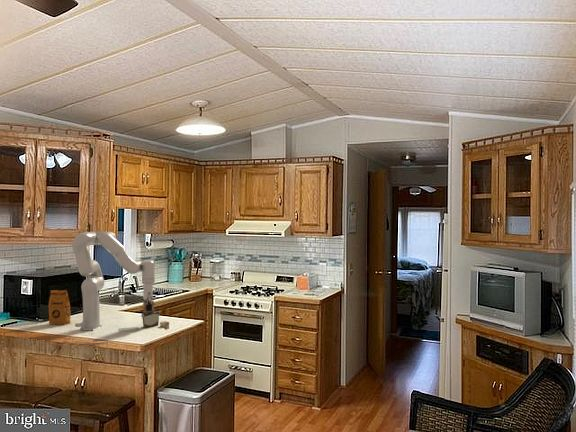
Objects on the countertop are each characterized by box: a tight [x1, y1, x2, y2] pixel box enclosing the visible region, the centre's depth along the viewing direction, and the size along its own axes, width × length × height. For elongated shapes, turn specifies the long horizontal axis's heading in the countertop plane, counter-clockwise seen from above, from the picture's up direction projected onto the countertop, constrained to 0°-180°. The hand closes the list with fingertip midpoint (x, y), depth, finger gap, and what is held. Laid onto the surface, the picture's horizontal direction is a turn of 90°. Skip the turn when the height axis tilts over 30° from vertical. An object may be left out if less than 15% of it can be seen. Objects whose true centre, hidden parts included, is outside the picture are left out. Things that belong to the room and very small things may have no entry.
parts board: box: [117, 326, 141, 333], centre depth 286 cm, size 12×10×1 cm
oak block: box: [159, 320, 170, 330], centre depth 293 cm, size 4×4×4 cm
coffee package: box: [48, 289, 71, 326], centre depth 308 cm, size 10×12×22 cm
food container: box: [141, 310, 161, 329], centre depth 294 cm, size 12×6×10 cm, turn 141°
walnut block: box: [142, 299, 155, 312], centre depth 294 cm, size 6×6×6 cm
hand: (148, 309), depth 294 cm, fingers closed on walnut block, 5 cm apart
